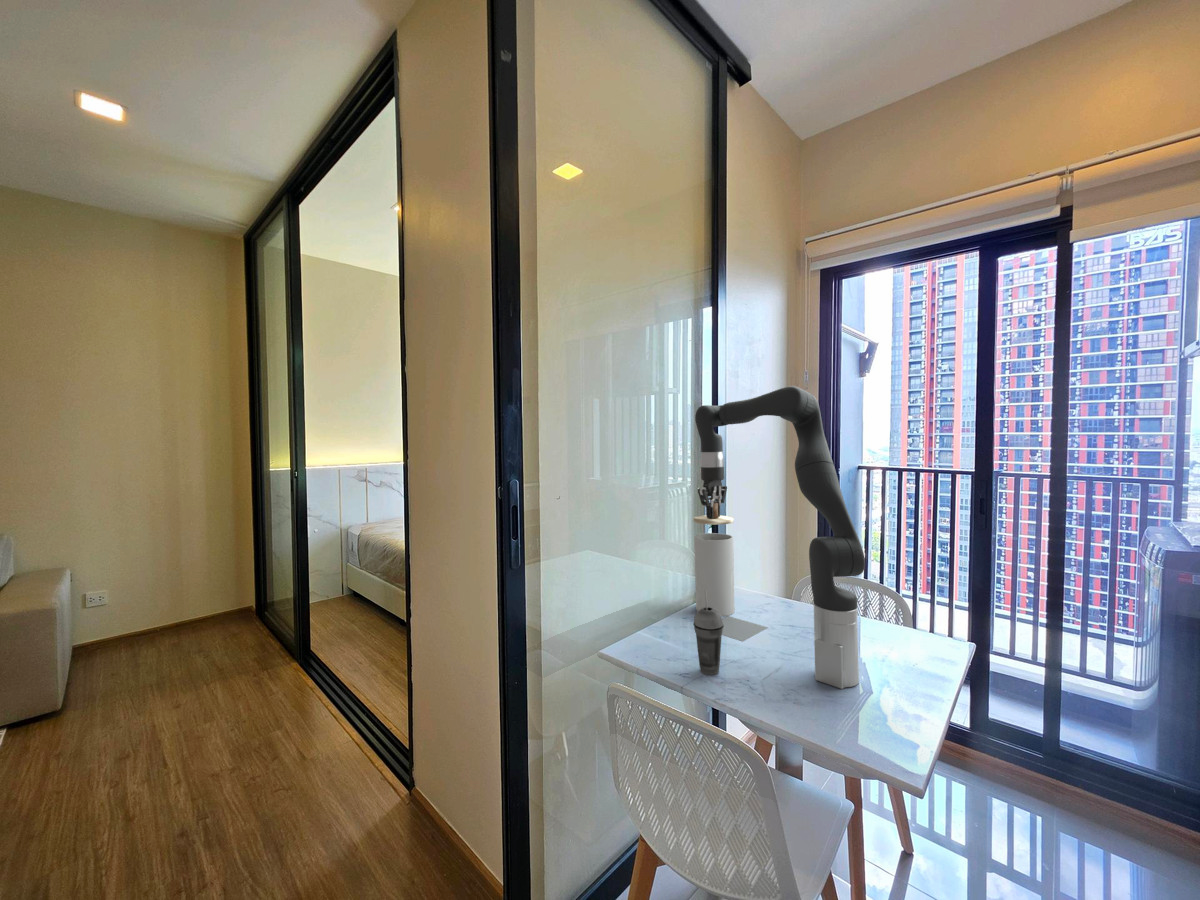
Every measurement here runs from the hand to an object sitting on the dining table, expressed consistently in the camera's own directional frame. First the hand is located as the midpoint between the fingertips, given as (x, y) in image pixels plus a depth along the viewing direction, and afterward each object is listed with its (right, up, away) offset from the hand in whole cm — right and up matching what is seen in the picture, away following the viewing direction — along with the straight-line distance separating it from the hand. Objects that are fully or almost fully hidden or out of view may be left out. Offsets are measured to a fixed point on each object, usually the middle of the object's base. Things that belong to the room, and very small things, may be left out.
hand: (713, 517), depth 158 cm
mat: (+3, -32, -15) cm, 35 cm away
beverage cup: (-11, -32, -41) cm, 53 cm away
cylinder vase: (+1, -32, 0) cm, 32 cm away
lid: (0, -1, 0) cm, 1 cm away
